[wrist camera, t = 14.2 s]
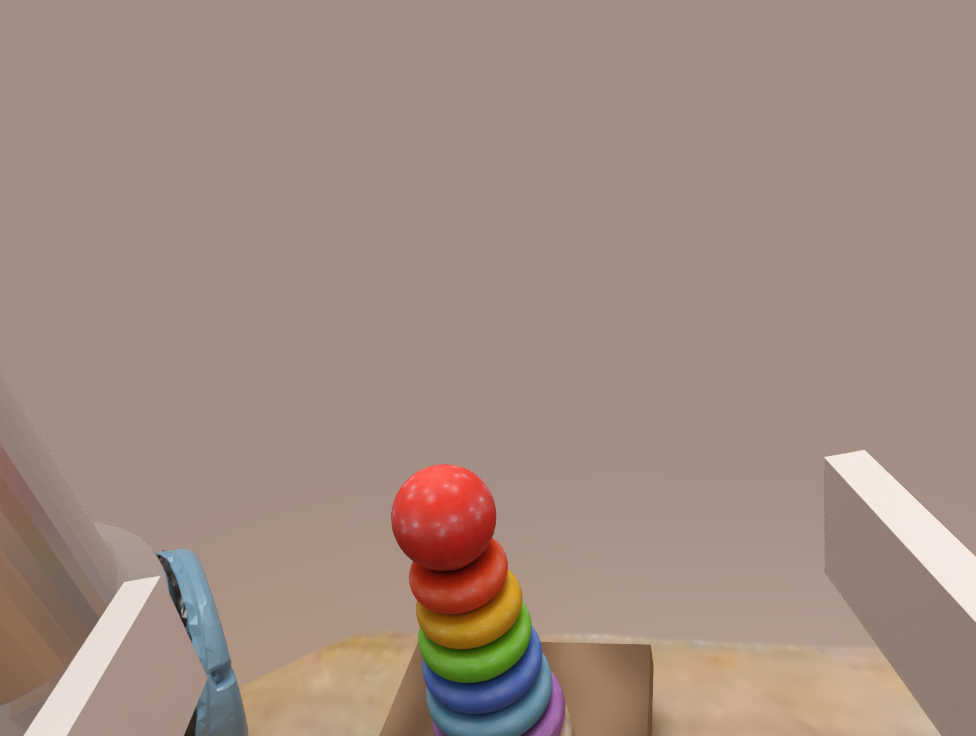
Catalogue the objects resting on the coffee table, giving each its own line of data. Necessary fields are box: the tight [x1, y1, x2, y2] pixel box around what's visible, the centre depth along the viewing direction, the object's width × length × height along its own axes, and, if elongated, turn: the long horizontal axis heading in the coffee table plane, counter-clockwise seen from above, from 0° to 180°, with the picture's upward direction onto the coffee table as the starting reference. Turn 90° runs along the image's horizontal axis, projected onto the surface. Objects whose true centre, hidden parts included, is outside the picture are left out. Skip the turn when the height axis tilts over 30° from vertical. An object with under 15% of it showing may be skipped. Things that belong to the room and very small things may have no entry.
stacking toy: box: [391, 464, 573, 736], centre depth 38 cm, size 8×8×19 cm
